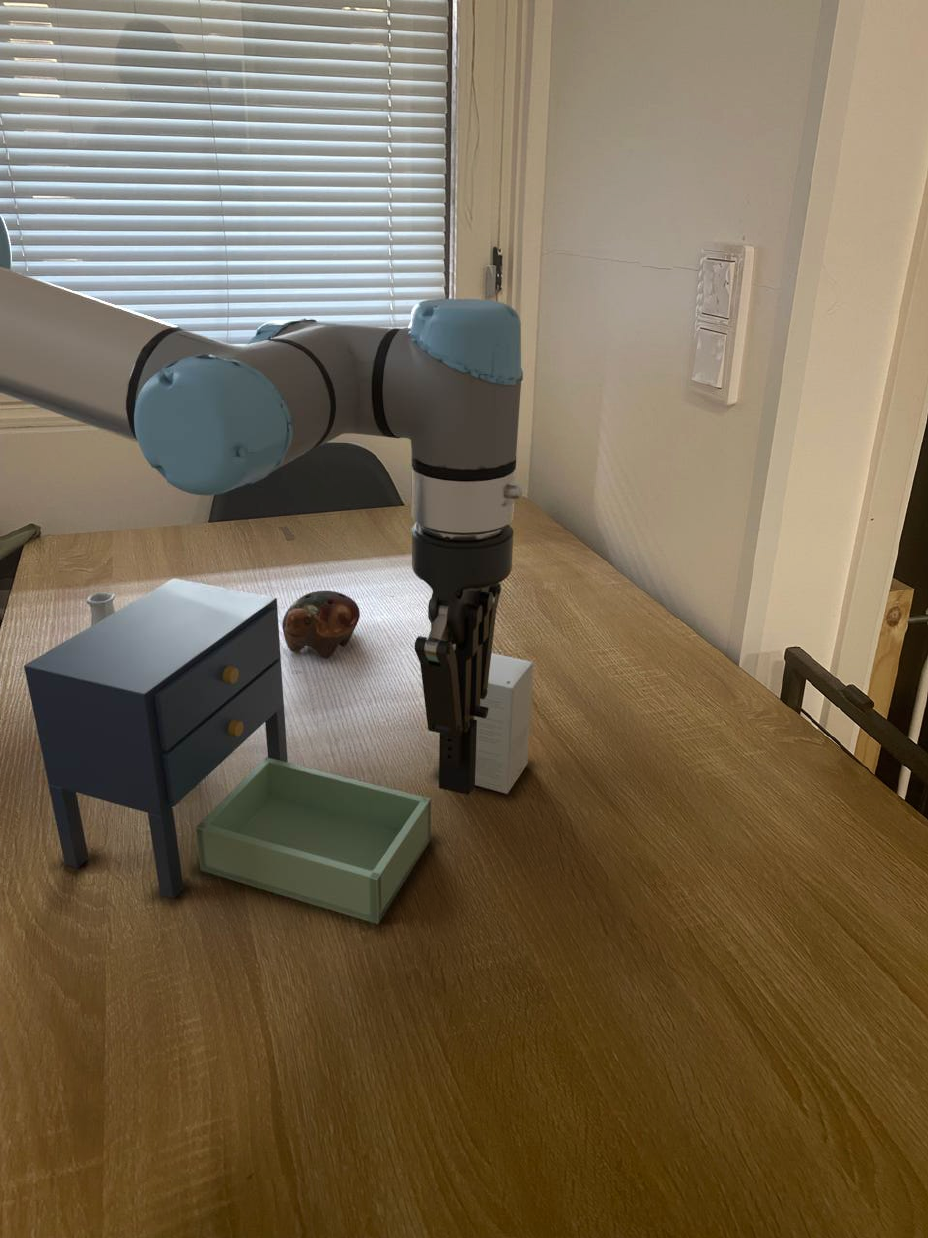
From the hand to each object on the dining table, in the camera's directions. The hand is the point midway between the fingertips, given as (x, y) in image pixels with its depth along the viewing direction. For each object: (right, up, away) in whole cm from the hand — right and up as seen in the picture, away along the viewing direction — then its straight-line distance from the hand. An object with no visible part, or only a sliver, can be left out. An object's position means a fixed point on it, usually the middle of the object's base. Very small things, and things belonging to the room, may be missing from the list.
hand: (456, 786), depth 77 cm
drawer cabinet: (-27, -6, +14) cm, 31 cm away
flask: (-45, +8, +41) cm, 61 cm away
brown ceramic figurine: (-19, +10, +48) cm, 52 cm away
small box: (+3, -3, +22) cm, 23 cm away
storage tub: (-13, -8, +9) cm, 18 cm away
